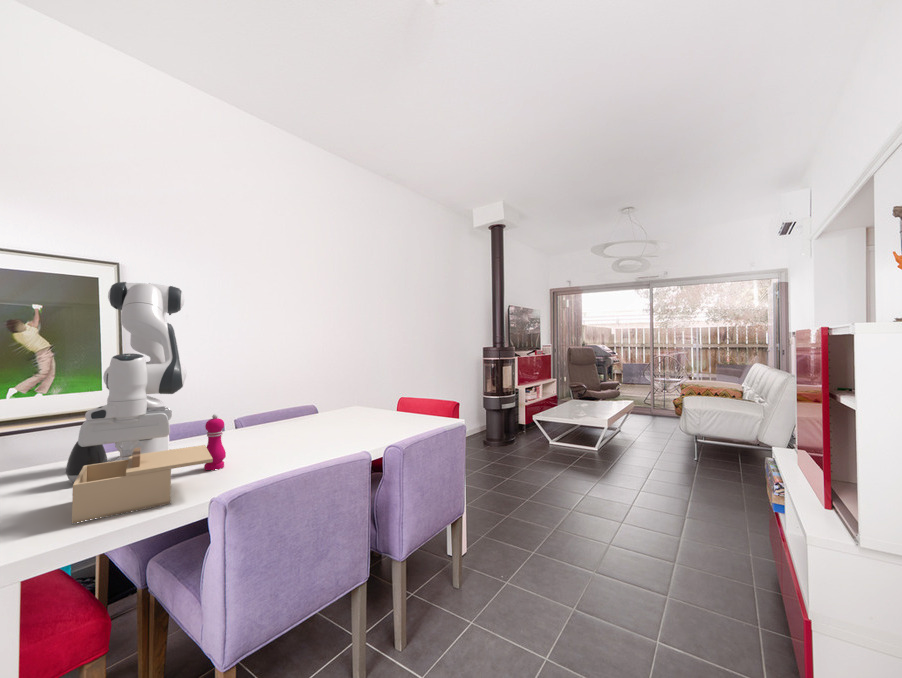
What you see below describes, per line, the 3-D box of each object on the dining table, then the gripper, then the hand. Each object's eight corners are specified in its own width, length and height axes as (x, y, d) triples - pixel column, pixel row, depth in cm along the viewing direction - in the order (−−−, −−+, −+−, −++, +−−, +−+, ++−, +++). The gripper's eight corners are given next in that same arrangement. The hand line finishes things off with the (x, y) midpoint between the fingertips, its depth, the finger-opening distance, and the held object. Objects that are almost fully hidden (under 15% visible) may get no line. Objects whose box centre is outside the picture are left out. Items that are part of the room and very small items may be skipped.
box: (83, 499, 110) (83, 465, 110) (167, 483, 123) (168, 453, 123) (71, 524, 94) (72, 485, 95) (170, 503, 107) (171, 469, 107)
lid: (129, 458, 117) (129, 445, 117) (205, 447, 129) (205, 436, 129) (125, 476, 101) (126, 461, 101) (212, 462, 113) (212, 448, 114)
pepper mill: (230, 465, 141) (231, 413, 141) (213, 472, 134) (214, 416, 134) (215, 464, 143) (215, 412, 143) (197, 470, 136) (198, 415, 136)
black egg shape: (77, 488, 118) (78, 440, 119) (57, 484, 122) (59, 437, 122) (115, 477, 128) (116, 433, 128) (96, 474, 131) (97, 431, 132)
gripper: (171, 404, 118) (170, 448, 118) (81, 411, 105) (80, 460, 105) (172, 407, 113) (171, 452, 113) (77, 414, 100) (76, 466, 100)
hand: (126, 456), depth 109 cm, fingers closed
